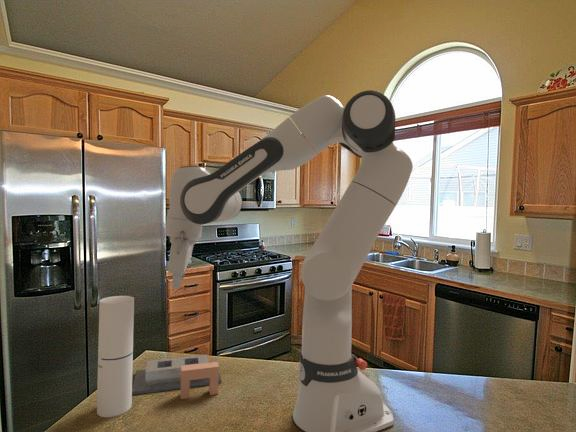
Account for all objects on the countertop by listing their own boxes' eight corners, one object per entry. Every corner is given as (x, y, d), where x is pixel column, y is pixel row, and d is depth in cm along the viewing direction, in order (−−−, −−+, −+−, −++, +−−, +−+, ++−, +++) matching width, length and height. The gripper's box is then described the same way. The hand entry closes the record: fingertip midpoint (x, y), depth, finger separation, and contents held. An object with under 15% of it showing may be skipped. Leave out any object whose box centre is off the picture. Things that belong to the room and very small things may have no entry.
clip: (216, 388, 88) (217, 361, 88) (218, 394, 86) (219, 366, 86) (180, 393, 85) (181, 365, 85) (180, 399, 83) (181, 371, 83)
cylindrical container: (117, 419, 74) (120, 304, 74) (89, 414, 76) (91, 302, 76) (138, 402, 81) (140, 297, 81) (111, 398, 83) (114, 294, 83)
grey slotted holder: (216, 364, 103) (216, 350, 103) (221, 383, 91) (221, 367, 91) (136, 373, 96) (136, 358, 96) (131, 395, 84) (131, 377, 84)
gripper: (194, 235, 77) (187, 295, 78) (198, 227, 97) (193, 275, 98) (164, 232, 76) (158, 294, 76) (175, 225, 96) (170, 273, 96)
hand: (178, 283), depth 87 cm, fingers open, 8 cm apart
